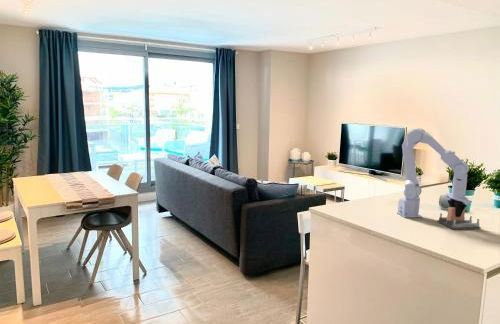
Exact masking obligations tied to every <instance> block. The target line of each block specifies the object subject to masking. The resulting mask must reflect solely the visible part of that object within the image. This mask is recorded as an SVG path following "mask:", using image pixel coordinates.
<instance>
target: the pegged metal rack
mask: <svg viewBox="0 0 500 324" xmlns="http://www.w3.org/2000/svg"><path fill="white" fill-rule="evenodd" d="M472 217H473V216H472V215H469V219H465V218H466V217H465V216H464V220H455V219H454V220H448V219H449V217H448V216H443V213H440V214H439V217H438V219H437V220H436V223H438V224H440V225H442V226H444V227H446V228H448V229H450V230H452V231H456V230H457V231H458V230H459V231H460V230H462V231H463V230H481V226H480V218H477V220H476V222H473V220H472Z"/></svg>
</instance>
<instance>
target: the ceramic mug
mask: <svg viewBox="0 0 500 324" xmlns="http://www.w3.org/2000/svg"><path fill="white" fill-rule="evenodd" d="M448 200H450V198H446V194H440V196H439V199H438V205H439V209H441V210H442V211H445V210H447V211H448V207H450V206H449V203H448Z"/></svg>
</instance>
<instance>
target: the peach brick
mask: <svg viewBox="0 0 500 324" xmlns="http://www.w3.org/2000/svg"><path fill="white" fill-rule="evenodd" d="M455 211H456V210H455V207H448V210H447V216H448V217H449V219H448V220H454V219H455V220H464V217H465V212H466V207H465V208H464V210H463V212H462V214H461V217H456V216H455ZM447 216H446V217H447Z"/></svg>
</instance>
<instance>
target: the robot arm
mask: <svg viewBox="0 0 500 324" xmlns="http://www.w3.org/2000/svg"><path fill="white" fill-rule="evenodd" d="M419 143H420V144H427V145H428V146H429V147H431V149H433V150H434V151H436V153H438V154H439V155H440V160H441V161H442V162H443V163H444V164H445V165H446V166H448V167H449V168H450V169H452V172H453V177H452V185H451V186H452V187H451V193H449V192H448V193H445V195H446V198H450V200H448V203H449V206H450V207H455V210H456V211H455V216H456V217H461V214H462V212H463V210H464V208H465V209H466V207H467V206H471V203H472V201H471V200H470V199H468V198H467V196H466V194H467V183H468V172H469V170H470V166H469V164H468V162H465V161H464V159H460V157H458V155H457V154H456V152H455V151H452V150H447V149H445V148H444V146H442V145H441V143H439V142H438V140H436V139H435V138H434V136H432V135H431V134H430V133H429V132H428V131H426V130H425V129H423V128H421V127H420V128H414V129H411V130H409V131H408V133H406V136H405V138H404V140H403V142H402V144H401V149H402V151H401V152H402V157H403V165H404V167H403V168H404V176H405V183H404V191H403V195H404V197H403V198H399V200H398V204H397V212H396V214H398V215H399V216H401V217H403V218H408V219H409V218H423V216H422V215H420V213H419V212H420V203H421V201H420V200H421V198H420V196H421V194H422V191H423V190H422V187H421V185H420V182H419V180H418V177H417V168H416V163H415V161H416V160H415V152H414V148H415V147H416V146H417V145H418V144H419Z"/></svg>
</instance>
